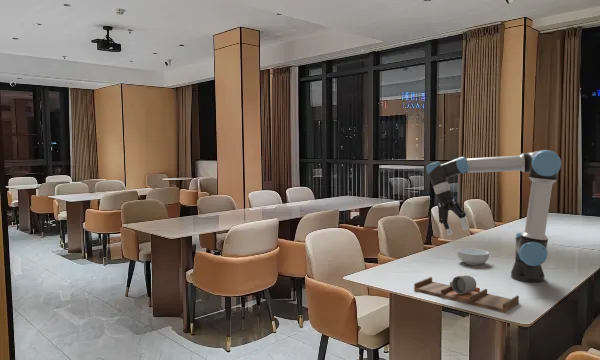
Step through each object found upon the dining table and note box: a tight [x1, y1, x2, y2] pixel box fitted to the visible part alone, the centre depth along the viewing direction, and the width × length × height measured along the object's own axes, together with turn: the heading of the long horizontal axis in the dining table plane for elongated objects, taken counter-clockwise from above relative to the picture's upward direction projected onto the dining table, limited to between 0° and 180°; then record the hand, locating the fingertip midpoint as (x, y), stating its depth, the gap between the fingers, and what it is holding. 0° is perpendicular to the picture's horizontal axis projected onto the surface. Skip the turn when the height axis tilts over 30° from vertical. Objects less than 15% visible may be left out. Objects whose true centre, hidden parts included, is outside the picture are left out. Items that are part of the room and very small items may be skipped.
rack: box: [413, 277, 520, 313], centre depth 199 cm, size 41×16×3 cm, turn 45°
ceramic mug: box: [449, 275, 477, 294], centre depth 200 cm, size 11×8×8 cm
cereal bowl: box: [457, 247, 490, 266], centre depth 257 cm, size 17×17×7 cm
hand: (458, 233), depth 221 cm, fingers open, 13 cm apart
